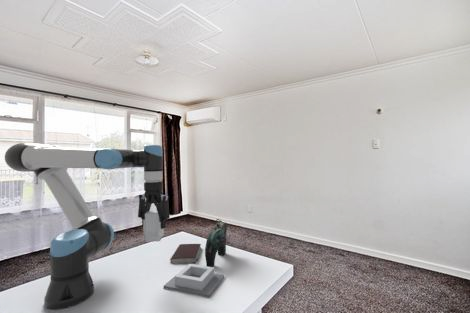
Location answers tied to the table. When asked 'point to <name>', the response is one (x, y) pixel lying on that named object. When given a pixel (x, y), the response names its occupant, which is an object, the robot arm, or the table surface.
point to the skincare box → (152, 226)
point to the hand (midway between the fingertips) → (153, 234)
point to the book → (186, 253)
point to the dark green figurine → (216, 243)
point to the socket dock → (197, 292)
